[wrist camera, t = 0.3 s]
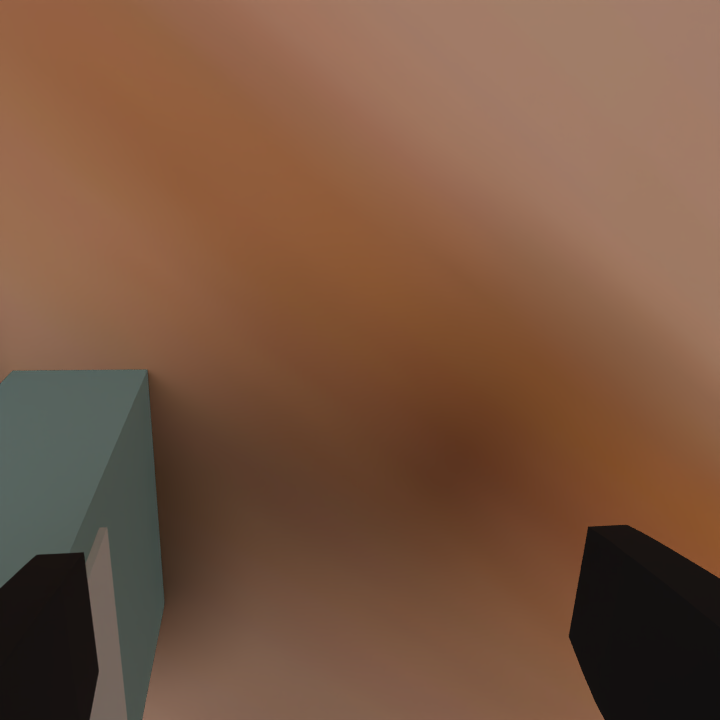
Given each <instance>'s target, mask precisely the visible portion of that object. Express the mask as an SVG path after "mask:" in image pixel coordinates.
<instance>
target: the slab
mask: <svg viewBox="0 0 720 720" xmlns="http://www.w3.org/2000/svg"><path fill="white" fill-rule="evenodd" d="M79 552H84V556H85V564H86V572H87V580H88V588H89V596H90V604H91V612H92V619H93V627H94V635H95V643H96V651H97V659H98V667H99V674H98V679H97V684H96V690H95V695H94V700H93V705H92V710H91V715H90V720H142V717H143V712H144V707H145V702H146V697H147V692H148V687H149V681H150V676H151V671H152V666H153V661H154V656H155V651H156V646H157V640H158V635H159V630H160V625H161V620H162V615H163V610H164V604H165V603H164V589H163V576H162V562H161V548H160V535H159V521H158V507H157V493H156V480H155V466H154V452H153V439H152V425H151V411H150V398H149V384H148V370H37V371H12V372H11V373H10V374H9V375H8V376H7V377H6V378H5V379H4V380H3V381H2V383H1V384H0V588H1V587H2V586H3V585H4V584H5V583H6V582H7V581H8V580H9V579H10V578H12V577H13V576H14V575H15V574H16V573H17V572H18V571H19V570H20V569H21V568H22V567H23V566H24V565H25V564H27V563H28V562H29V561H30V560H31V559H32V558H33V557H34V556H36V555H39V554H59V553H79Z"/></svg>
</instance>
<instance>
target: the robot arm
mask: <svg viewBox="0 0 720 720" xmlns="http://www.w3.org/2000/svg"><path fill="white" fill-rule="evenodd" d="M569 638H570V641H571V643H572V646H573V649H574V651H575V654H576V656H577V659H578V661H579V664H580V667H581V669H582V672H583V674H584V676H585V679H586V681H587V684H588V686H589V688H590V691H591V693H592V695H593V698H594V700H595V702H596V704H597V706H598V708H599V710H600V712H601V714H602V715H603V717H604V719H605V720H720V578H718V577H716V576H715V575H713V574H711V573H710V572H708V571H706V570H705V569H703V568H701V567H700V566H698V565H697V564H695V563H693V562H692V561H690V560H688V559H687V558H685V557H683V556H682V555H680V554H678V553H677V552H675V551H673V550H672V549H670V548H668V547H666V546H665V545H663V544H661V543H660V542H658V541H656V540H654V539H653V538H651V537H649V536H647V535H645V534H644V533H642V532H640V531H638V530H636V529H634V528H632V527H630V526H628V525H614V526H594V527H588V531H587V537H586V543H585V548H584V554H583V560H582V565H581V571H580V576H579V582H578V588H577V593H576V599H575V604H574V610H573V616H572V621H571V627H570V633H569ZM98 674H99V667H98V659H97V651H96V643H95V635H94V627H93V619H92V612H91V604H90V596H89V588H88V580H87V572H86V564H85V556H84V552H79V553H59V554H39V555H36V556H34V557H33V558H32V559H31V560H30V561H29V562H28V563H27V564H25V565H24V566H23V567H22V568H21V569H20V570H19V571H18V572H17V573H16V574H15V575H14V576H13V577H12V578H10V579H9V580H8V581H7V582H6V583H5V584H4V585H3V586H2V587H1V588H0V720H90V715H91V710H92V705H93V700H94V695H95V690H96V684H97V679H98Z"/></svg>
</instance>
